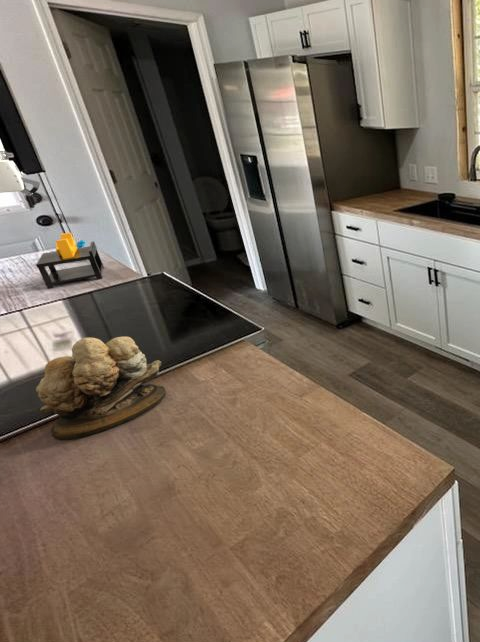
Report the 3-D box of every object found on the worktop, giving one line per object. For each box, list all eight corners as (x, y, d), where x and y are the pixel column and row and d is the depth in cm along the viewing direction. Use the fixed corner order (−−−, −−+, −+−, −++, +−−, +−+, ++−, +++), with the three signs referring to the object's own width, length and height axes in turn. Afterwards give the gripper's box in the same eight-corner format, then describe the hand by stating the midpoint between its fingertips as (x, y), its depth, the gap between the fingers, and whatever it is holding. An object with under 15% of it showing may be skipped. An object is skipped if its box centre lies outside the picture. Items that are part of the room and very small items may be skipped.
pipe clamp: (61, 251, 151) (54, 234, 148) (77, 249, 153) (70, 232, 151) (56, 260, 142) (48, 242, 140) (73, 257, 144) (66, 239, 142)
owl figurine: (166, 379, 92) (140, 311, 86) (177, 402, 85) (150, 330, 79) (51, 421, 80) (11, 345, 74) (52, 452, 73) (8, 371, 66)
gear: (63, 255, 170) (80, 235, 171) (81, 261, 174) (98, 242, 176) (64, 265, 163) (82, 244, 164) (82, 271, 168) (100, 251, 169)
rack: (47, 289, 141) (33, 260, 137) (53, 276, 152) (40, 249, 148) (102, 278, 150) (91, 251, 146) (104, 267, 161) (93, 241, 157)
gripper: (31, 155, 141) (50, 204, 147) (-49, 157, 131) (-25, 210, 137) (27, 156, 136) (47, 207, 142) (-57, 159, 126) (-32, 214, 132)
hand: (11, 209), depth 140 cm, fingers open, 9 cm apart
